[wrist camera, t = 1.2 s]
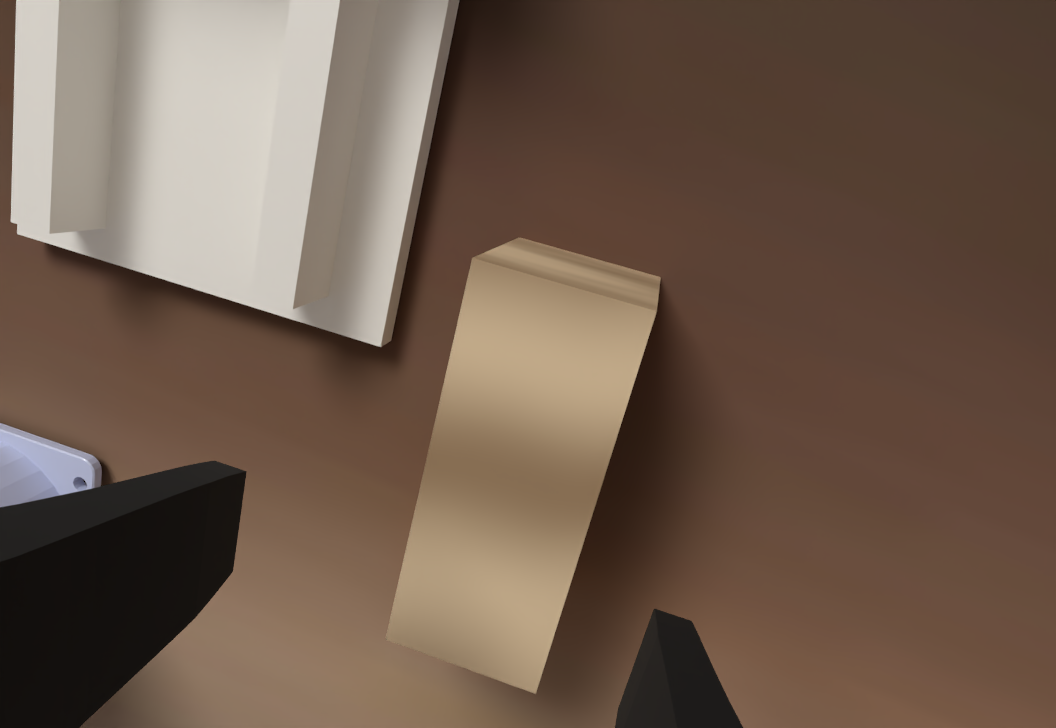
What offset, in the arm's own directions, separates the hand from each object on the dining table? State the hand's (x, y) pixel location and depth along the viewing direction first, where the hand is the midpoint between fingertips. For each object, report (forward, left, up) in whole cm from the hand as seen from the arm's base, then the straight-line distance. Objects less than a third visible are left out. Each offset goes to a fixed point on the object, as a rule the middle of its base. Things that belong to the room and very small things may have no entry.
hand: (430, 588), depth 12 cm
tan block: (0, 0, -10) cm, 10 cm away
